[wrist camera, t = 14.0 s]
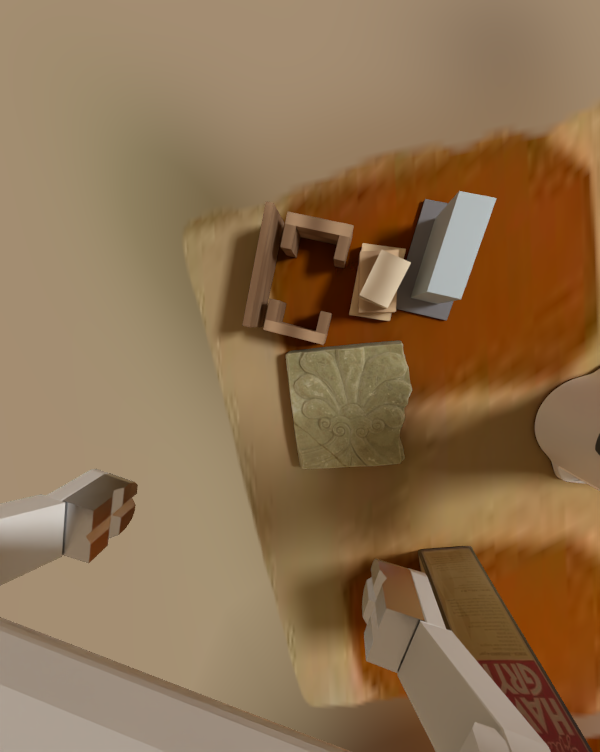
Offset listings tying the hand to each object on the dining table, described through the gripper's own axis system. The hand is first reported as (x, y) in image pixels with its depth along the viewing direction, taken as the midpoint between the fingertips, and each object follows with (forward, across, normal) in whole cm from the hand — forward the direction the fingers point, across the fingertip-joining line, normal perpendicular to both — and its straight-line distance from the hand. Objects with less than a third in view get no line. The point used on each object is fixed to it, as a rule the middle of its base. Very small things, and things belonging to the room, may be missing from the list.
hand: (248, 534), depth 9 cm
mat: (+37, -12, -19) cm, 43 cm away
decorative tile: (+38, -6, +5) cm, 39 cm away
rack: (+37, +6, -12) cm, 40 cm away
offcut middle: (+35, -5, -14) cm, 38 cm away
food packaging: (+37, -31, +31) cm, 58 cm away
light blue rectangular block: (+36, -12, -19) cm, 43 cm away
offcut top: (+33, -5, -14) cm, 36 cm away
